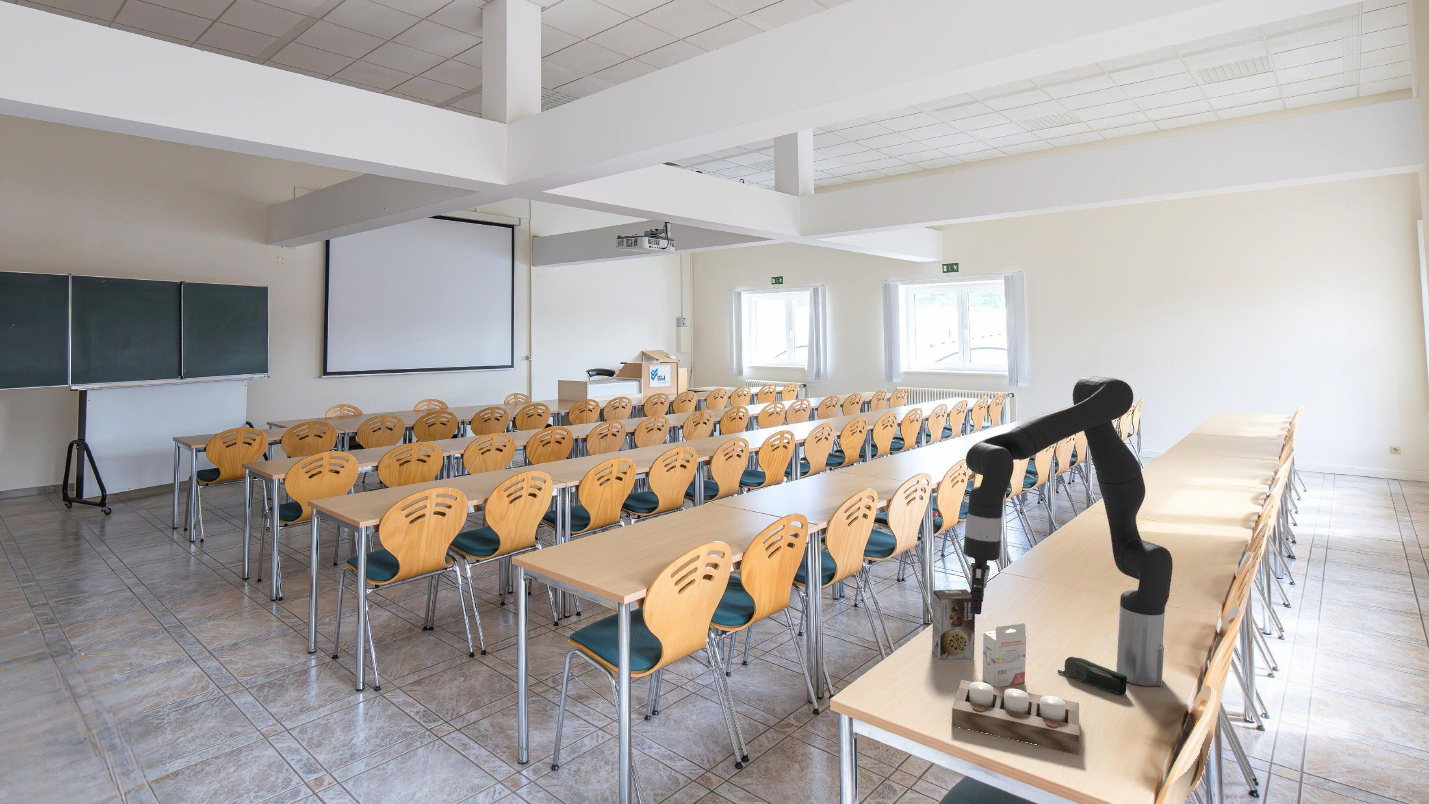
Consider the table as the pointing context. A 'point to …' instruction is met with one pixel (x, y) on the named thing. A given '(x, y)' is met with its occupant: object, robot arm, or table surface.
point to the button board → (1017, 720)
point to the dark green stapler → (1095, 675)
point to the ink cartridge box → (1004, 655)
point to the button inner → (1052, 708)
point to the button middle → (1016, 701)
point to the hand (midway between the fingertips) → (976, 607)
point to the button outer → (981, 694)
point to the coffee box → (953, 624)
